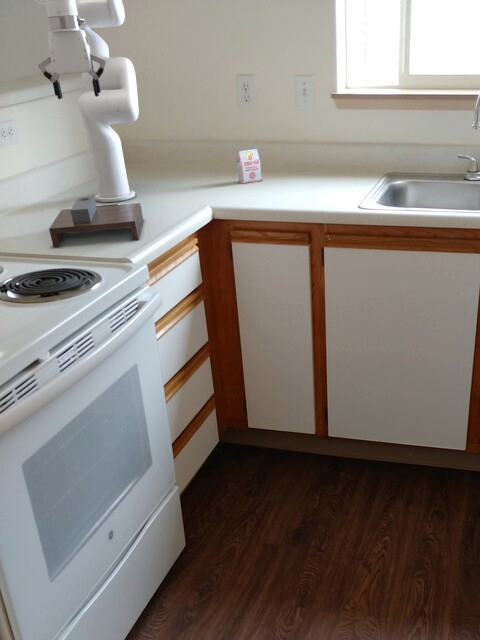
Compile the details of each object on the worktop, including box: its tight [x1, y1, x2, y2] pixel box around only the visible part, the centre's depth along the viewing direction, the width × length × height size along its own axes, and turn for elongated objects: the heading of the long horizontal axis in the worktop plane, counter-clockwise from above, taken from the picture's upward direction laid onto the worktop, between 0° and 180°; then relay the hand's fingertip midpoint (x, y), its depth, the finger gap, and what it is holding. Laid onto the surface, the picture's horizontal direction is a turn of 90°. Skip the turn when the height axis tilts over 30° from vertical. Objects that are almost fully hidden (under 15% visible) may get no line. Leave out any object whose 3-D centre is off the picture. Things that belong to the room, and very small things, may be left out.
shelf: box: [48, 202, 144, 248], centre depth 207 cm, size 20×22×5 cm
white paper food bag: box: [236, 148, 262, 185], centre depth 252 cm, size 4×7×10 cm, turn 116°
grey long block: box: [70, 195, 97, 223], centre depth 204 cm, size 14×4×4 cm, turn 8°
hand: (78, 97), depth 202 cm, fingers open, 9 cm apart
